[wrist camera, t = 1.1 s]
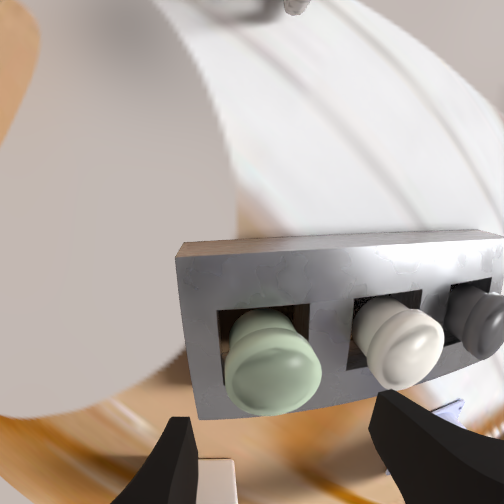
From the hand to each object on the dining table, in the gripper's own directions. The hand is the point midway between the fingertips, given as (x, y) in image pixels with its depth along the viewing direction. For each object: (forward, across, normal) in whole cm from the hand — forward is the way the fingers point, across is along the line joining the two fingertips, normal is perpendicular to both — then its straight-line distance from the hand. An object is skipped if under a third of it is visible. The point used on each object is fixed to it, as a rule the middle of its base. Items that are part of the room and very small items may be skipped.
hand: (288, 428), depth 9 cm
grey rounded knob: (+7, -14, 0) cm, 16 cm away
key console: (+9, -7, 0) cm, 12 cm away
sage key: (+7, 0, 0) cm, 7 cm away
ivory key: (+7, -7, 0) cm, 10 cm away
